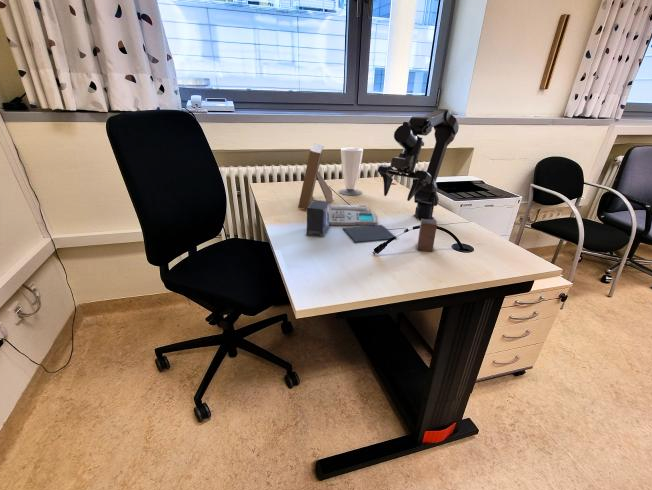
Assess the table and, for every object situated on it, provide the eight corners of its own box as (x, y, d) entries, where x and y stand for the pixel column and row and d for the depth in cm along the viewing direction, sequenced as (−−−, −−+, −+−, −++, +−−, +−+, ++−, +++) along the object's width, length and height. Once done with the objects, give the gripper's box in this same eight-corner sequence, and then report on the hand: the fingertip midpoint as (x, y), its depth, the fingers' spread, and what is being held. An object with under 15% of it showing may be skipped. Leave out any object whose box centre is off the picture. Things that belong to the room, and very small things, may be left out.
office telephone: (329, 202, 153) (373, 203, 153) (329, 208, 154) (372, 209, 154) (327, 218, 133) (377, 220, 133) (326, 225, 134) (377, 226, 134)
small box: (323, 237, 123) (323, 209, 118) (306, 235, 124) (305, 207, 119) (329, 227, 132) (330, 200, 127) (313, 226, 133) (313, 199, 128)
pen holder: (417, 244, 119) (421, 218, 114) (431, 246, 118) (436, 219, 114) (417, 250, 115) (421, 223, 110) (432, 251, 114) (437, 224, 109)
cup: (338, 189, 183) (339, 147, 172) (359, 189, 184) (361, 147, 174) (340, 195, 173) (342, 150, 163) (362, 195, 174) (365, 150, 164)
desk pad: (381, 225, 135) (381, 224, 135) (396, 238, 123) (396, 237, 123) (343, 229, 131) (343, 228, 131) (354, 242, 119) (354, 241, 119)
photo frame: (298, 209, 151) (296, 150, 138) (303, 196, 169) (302, 143, 157) (331, 210, 150) (332, 151, 138) (333, 197, 169) (334, 144, 157)
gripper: (377, 142, 115) (363, 187, 118) (428, 148, 106) (412, 197, 108) (390, 154, 125) (377, 195, 127) (438, 160, 115) (423, 205, 117)
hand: (396, 198), depth 120 cm, fingers open, 9 cm apart
